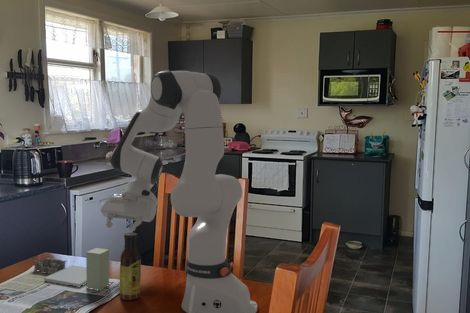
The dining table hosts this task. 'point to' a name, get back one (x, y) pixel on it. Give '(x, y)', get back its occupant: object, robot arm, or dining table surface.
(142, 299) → the dining table surface
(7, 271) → the dining table surface
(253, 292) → the dining table surface
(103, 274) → the sage block
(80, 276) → the tile
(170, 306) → the dining table surface
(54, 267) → the mossy rock
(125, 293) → the sauce bottle
